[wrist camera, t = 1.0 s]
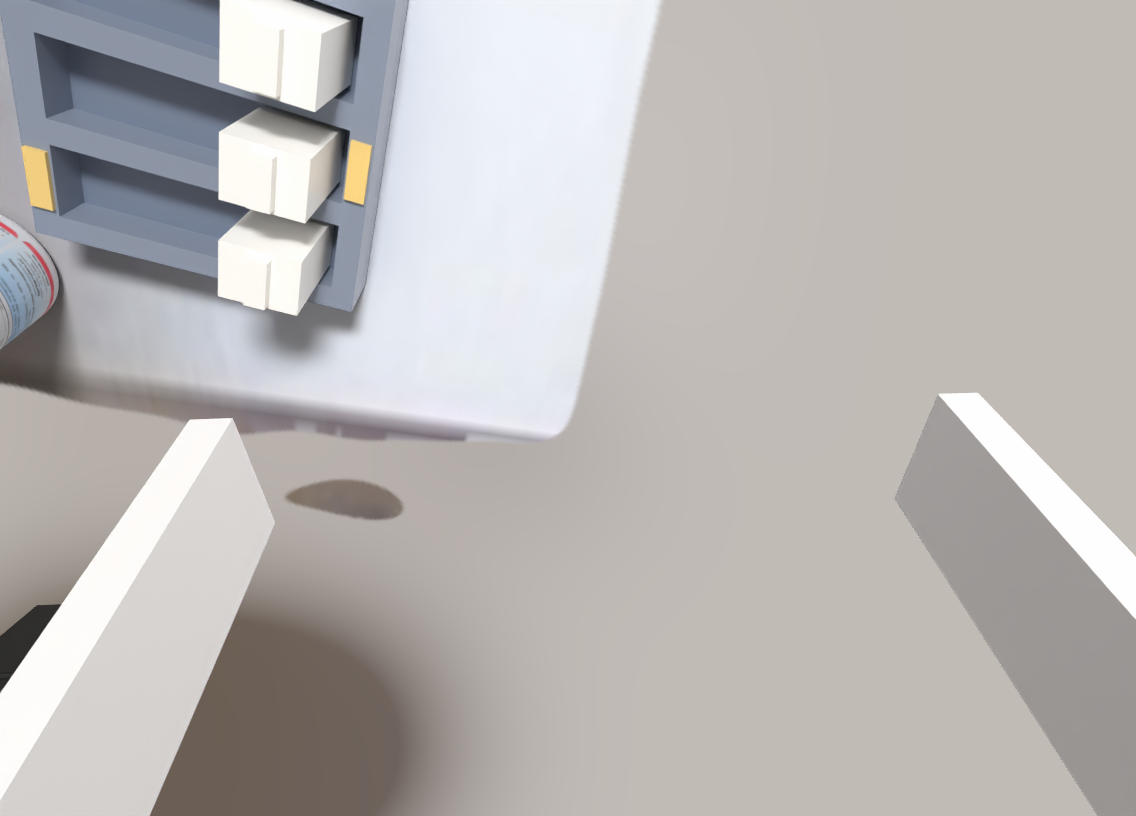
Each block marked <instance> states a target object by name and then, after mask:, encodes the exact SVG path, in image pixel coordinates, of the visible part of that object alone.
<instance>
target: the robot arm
mask: <svg viewBox="0 0 1136 816" xmlns="http://www.w3.org/2000/svg"><path fill="white" fill-rule="evenodd" d="M895 500H896V502H897V503H898V504H899V506H900V508H901V509H902V511H903V512H904V514H905V516H906V517H907V519H908V520H909V522H910V523H911V525H912V526H913V528H914V530H915V531H916V533H917V534H918V536H919V538H920V539H921V541H922V542H923V544H924V545H925V547H926V548H927V550H928V552H929V553H930V555H931V556H932V558H933V559H934V561H935V562H936V564H937V566H938V567H939V569H940V570H941V572H942V573H943V575H944V577H945V578H946V579H947V581H948V583H949V584H950V586H951V588H952V589H953V591H954V592H955V594H956V595H957V597H958V598H959V600H960V602H961V603H962V605H963V606H964V608H965V609H966V611H967V613H968V614H969V616H970V617H971V619H972V620H973V622H974V623H975V625H976V627H977V628H978V630H979V631H980V633H981V634H982V636H983V638H984V639H985V641H986V642H987V644H988V645H989V647H990V649H991V650H992V652H993V653H994V655H995V656H996V658H997V659H998V661H999V663H1000V664H1001V666H1002V667H1003V669H1004V670H1005V672H1006V674H1007V675H1008V677H1009V678H1010V679H1011V681H1012V683H1013V684H1014V686H1015V688H1016V689H1017V691H1018V692H1019V694H1020V695H1021V697H1022V699H1023V700H1024V702H1025V703H1026V705H1027V706H1028V708H1029V709H1030V711H1031V713H1032V714H1033V716H1034V717H1035V719H1036V720H1037V722H1038V724H1039V725H1040V727H1041V728H1042V730H1043V731H1044V733H1045V734H1046V736H1047V737H1048V739H1049V741H1050V742H1051V744H1052V745H1053V747H1054V749H1055V750H1056V752H1057V753H1058V755H1059V756H1060V758H1061V760H1062V761H1063V763H1064V764H1065V766H1066V767H1067V769H1068V770H1069V772H1070V773H1071V775H1072V777H1073V778H1074V780H1075V781H1076V783H1077V784H1078V786H1079V787H1080V789H1081V791H1082V792H1083V794H1084V795H1085V797H1086V799H1087V800H1088V802H1089V803H1090V805H1091V806H1092V808H1093V809H1094V811H1095V813H1096V814H1097V816H1136V556H1134V554H1132V553H1131V551H1130V550H1129V549H1128V548H1127V547H1126V546H1125V545H1124V544H1123V543H1122V542H1121V541H1120V540H1119V539H1118V538H1117V537H1116V536H1115V535H1114V534H1113V533H1112V532H1111V531H1110V529H1108V527H1107V526H1106V525H1105V524H1104V523H1103V522H1102V521H1101V520H1100V519H1099V518H1098V517H1097V516H1096V515H1095V514H1094V513H1093V512H1092V511H1091V510H1090V509H1089V508H1088V507H1087V506H1086V505H1085V504H1084V503H1083V502H1082V500H1081V499H1080V498H1079V497H1078V496H1077V495H1076V494H1075V493H1074V492H1073V491H1072V490H1071V489H1070V488H1069V487H1068V486H1067V485H1066V484H1065V483H1064V482H1063V481H1062V480H1061V479H1060V478H1059V477H1058V476H1057V475H1056V474H1055V472H1054V471H1053V470H1052V469H1051V468H1050V467H1049V466H1048V465H1047V464H1046V463H1045V462H1044V461H1043V460H1042V459H1041V458H1040V457H1039V456H1038V455H1037V454H1036V453H1035V452H1034V451H1033V450H1032V449H1031V448H1030V447H1029V446H1028V445H1027V444H1026V442H1025V441H1024V440H1023V439H1022V438H1021V437H1020V436H1019V435H1018V434H1017V433H1016V432H1015V431H1014V430H1013V429H1012V428H1011V427H1010V426H1009V425H1008V424H1007V423H1006V422H1005V421H1004V420H1003V419H1002V418H1001V416H1000V415H999V414H998V413H997V412H996V411H995V410H994V409H993V408H992V407H991V406H990V405H989V404H988V403H987V402H986V401H985V400H984V399H983V398H982V397H981V396H980V395H979V394H978V393H956V394H938V395H937V398H936V400H935V402H934V405H933V407H932V410H931V412H930V414H929V417H928V419H927V422H926V424H925V427H924V429H923V431H922V434H921V436H920V439H919V441H918V443H917V446H916V448H915V451H914V453H913V455H912V458H911V460H910V462H909V465H908V467H907V470H906V472H905V474H904V477H903V479H902V482H901V484H900V486H899V489H898V491H897V494H896V496H895ZM274 525H275V521H274V519H273V516H272V514H271V511H270V509H269V506H268V504H267V502H266V499H265V497H264V494H263V492H262V489H261V487H260V484H259V482H258V480H257V477H256V475H255V472H254V470H253V467H252V465H251V462H250V460H249V457H248V455H247V453H246V450H245V447H244V445H243V443H242V440H241V438H240V435H239V433H238V430H237V428H236V425H235V423H234V420H233V418H226V419H197V420H189V422H188V423H187V425H186V426H185V427H184V429H183V430H182V432H181V433H180V435H179V436H178V438H177V439H176V440H175V442H174V443H173V445H172V446H171V448H170V449H169V451H168V452H167V453H166V455H165V456H164V458H163V459H162V461H161V462H160V464H159V465H158V466H157V468H156V469H155V471H154V472H153V474H152V475H151V476H150V478H149V479H148V481H147V483H146V484H145V485H144V487H143V488H142V490H141V491H140V492H139V494H138V495H137V497H136V498H135V500H134V501H133V502H132V504H131V505H130V507H129V508H128V510H127V511H126V513H125V514H124V515H123V517H122V518H121V520H120V521H119V523H118V524H117V526H116V527H115V528H114V530H113V531H112V533H111V534H110V536H109V537H108V538H107V540H106V541H105V543H104V544H103V546H102V547H101V549H100V550H99V551H98V553H97V554H96V556H95V557H94V559H93V560H92V562H91V563H90V565H89V566H88V567H87V569H86V570H85V572H84V573H83V574H82V576H81V577H80V579H79V580H78V582H77V583H76V585H75V586H74V587H73V589H72V591H71V592H70V593H69V595H68V596H67V598H66V599H65V601H64V602H63V603H62V604H58V605H37V606H36V607H34V608H33V609H32V610H31V611H30V612H29V613H27V614H26V615H25V616H24V617H23V618H21V619H20V620H19V621H18V622H17V623H15V624H14V625H13V626H12V627H11V628H9V629H8V630H7V631H6V632H5V633H4V634H2V635H1V636H0V816H150V814H151V811H152V809H153V807H154V804H155V802H156V800H157V797H158V795H159V793H160V790H161V788H162V786H163V783H164V781H165V779H166V776H167V774H168V772H169V769H170V767H171V764H172V762H173V760H174V758H175V755H176V753H177V751H178V748H179V746H180V744H181V741H182V739H183V737H184V734H185V732H186V730H187V727H188V725H189V723H190V720H191V718H192V716H193V713H194V711H195V709H196V706H197V704H198V701H199V699H200V697H201V695H202V692H203V690H204V688H205V686H206V683H207V681H208V679H209V676H210V674H211V672H212V669H213V667H214V665H215V662H216V660H217V658H218V655H219V653H220V650H221V648H222V646H223V644H224V641H225V639H226V637H227V634H228V632H229V630H230V627H231V625H232V623H233V620H234V618H235V615H236V613H237V611H238V609H239V606H240V604H241V602H242V599H243V597H244V594H245V592H246V590H247V588H248V585H249V583H250V581H251V578H252V576H253V574H254V571H255V569H256V567H257V564H258V562H259V560H260V557H261V555H262V553H263V550H264V548H265V546H266V543H267V541H268V539H269V536H270V534H271V531H272V529H273V527H274Z"/></svg>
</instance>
